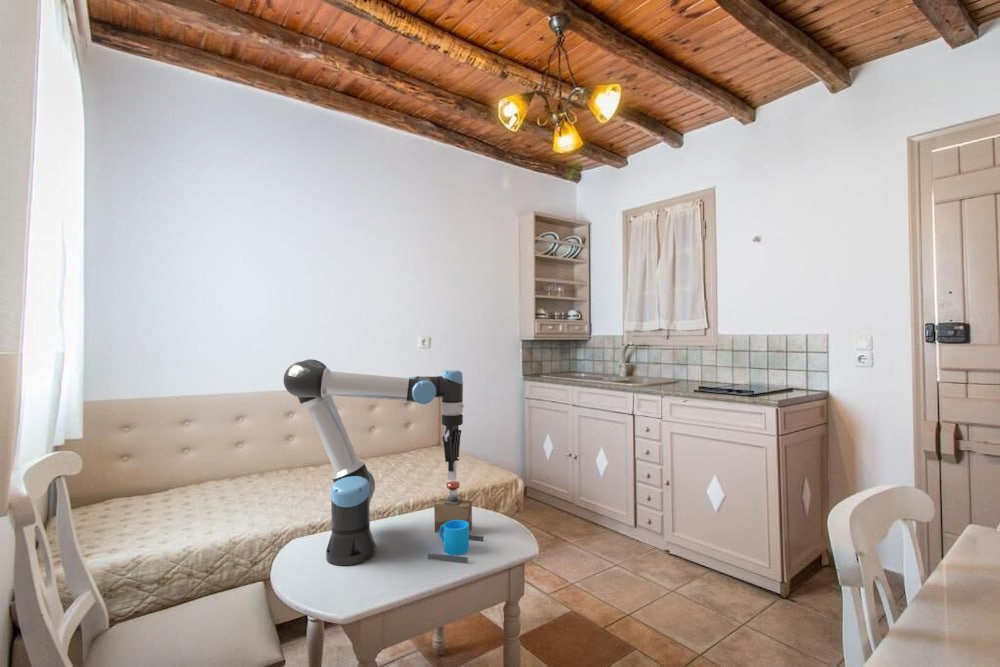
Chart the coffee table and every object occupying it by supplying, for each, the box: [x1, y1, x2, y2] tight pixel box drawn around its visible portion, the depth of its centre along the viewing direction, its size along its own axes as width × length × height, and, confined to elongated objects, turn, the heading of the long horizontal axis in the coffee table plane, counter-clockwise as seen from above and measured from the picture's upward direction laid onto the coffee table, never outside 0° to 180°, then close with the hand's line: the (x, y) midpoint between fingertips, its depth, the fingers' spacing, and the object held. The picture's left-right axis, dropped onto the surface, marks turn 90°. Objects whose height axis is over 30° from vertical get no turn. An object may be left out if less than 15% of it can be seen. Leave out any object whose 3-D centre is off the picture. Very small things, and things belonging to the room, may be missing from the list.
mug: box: [438, 520, 470, 556], centre depth 159 cm, size 12×8×8 cm
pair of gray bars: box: [427, 534, 485, 564], centre depth 158 cm, size 13×17×2 cm
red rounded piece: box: [446, 480, 460, 501], centre depth 173 cm, size 5×5×6 cm
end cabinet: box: [433, 497, 473, 534], centre depth 173 cm, size 6×12×11 cm, turn 75°
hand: (452, 479), depth 173 cm, fingers closed
